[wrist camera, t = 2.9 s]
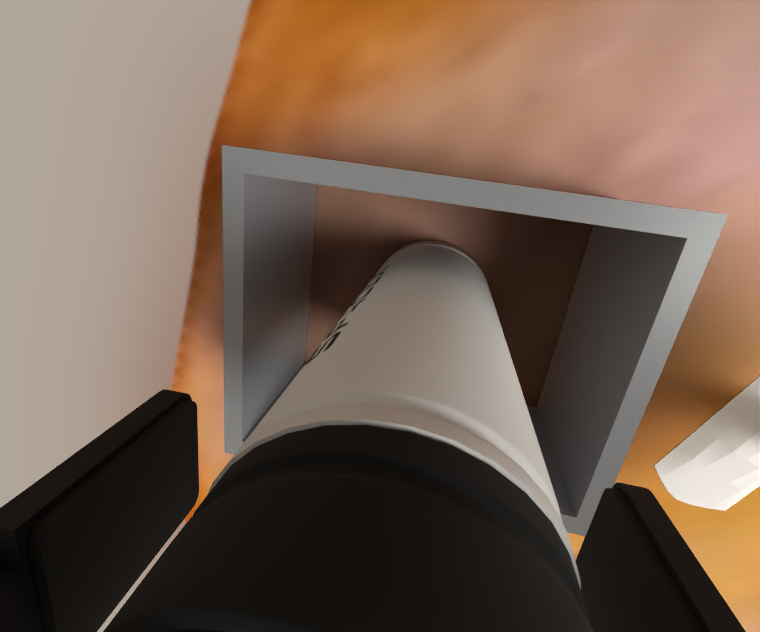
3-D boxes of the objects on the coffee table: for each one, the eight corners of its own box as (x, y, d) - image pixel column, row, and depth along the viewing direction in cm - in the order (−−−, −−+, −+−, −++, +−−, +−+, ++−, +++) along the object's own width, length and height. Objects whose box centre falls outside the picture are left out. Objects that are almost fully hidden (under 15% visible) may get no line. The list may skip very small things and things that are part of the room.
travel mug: (491, 351, 22) (677, 1189, 4) (376, 346, 24) (93, 981, 5) (498, 238, 20) (954, 870, 2) (371, 240, 22) (-132, 643, 3)
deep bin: (304, 155, 21) (221, 144, 13) (620, 199, 19) (728, 214, 11) (292, 370, 25) (224, 452, 18) (546, 422, 23) (591, 537, 16)
